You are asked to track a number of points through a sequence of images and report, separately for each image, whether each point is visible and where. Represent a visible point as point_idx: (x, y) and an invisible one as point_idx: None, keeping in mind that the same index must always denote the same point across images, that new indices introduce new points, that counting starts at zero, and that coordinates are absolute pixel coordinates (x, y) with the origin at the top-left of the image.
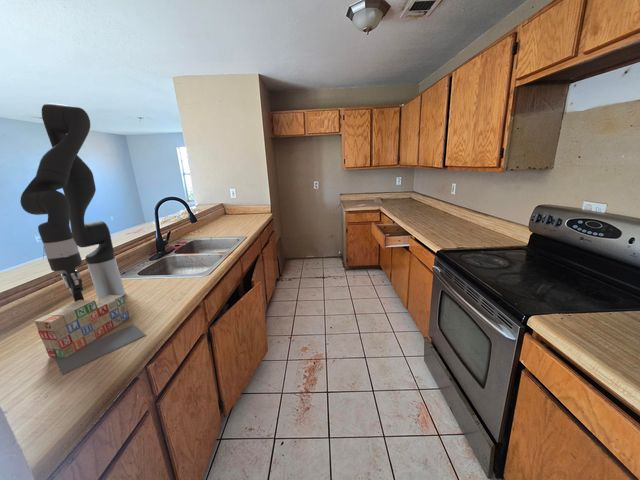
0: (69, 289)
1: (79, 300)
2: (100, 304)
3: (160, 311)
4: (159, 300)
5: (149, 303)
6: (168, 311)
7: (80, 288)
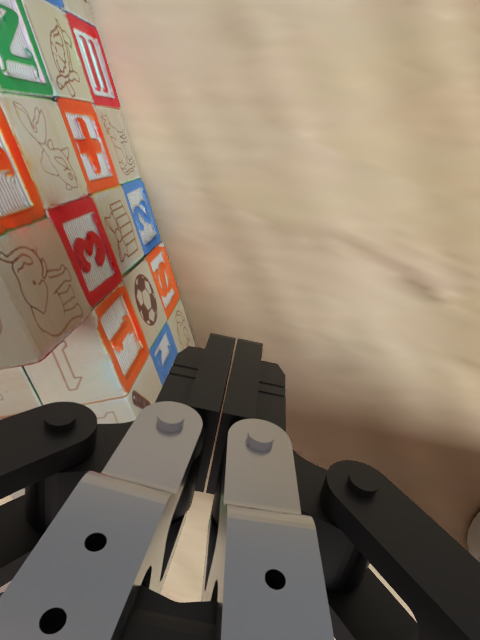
0: (334, 467)
1: (12, 347)
2: (12, 403)
3: None
4: (177, 561)
5: (197, 531)
6: (4, 501)
7: (6, 517)
